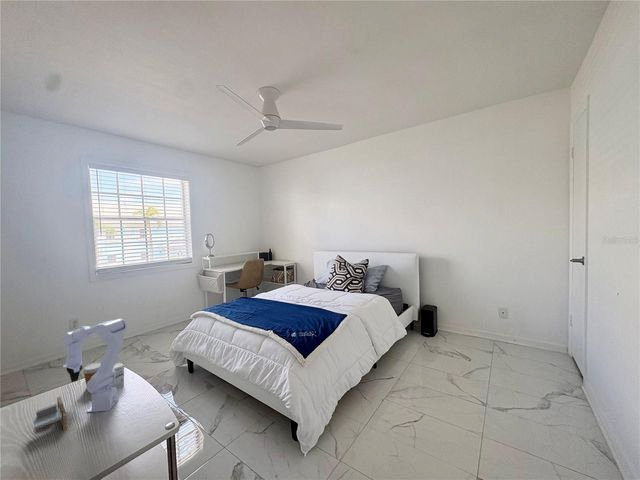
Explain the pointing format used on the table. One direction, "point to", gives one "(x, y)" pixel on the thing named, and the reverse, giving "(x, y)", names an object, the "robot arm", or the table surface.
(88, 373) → the disposable coffee cup
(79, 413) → the table surface
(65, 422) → the walnut track wall
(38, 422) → the slate cover
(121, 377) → the ink box
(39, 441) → the table surface
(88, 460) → the table surface
